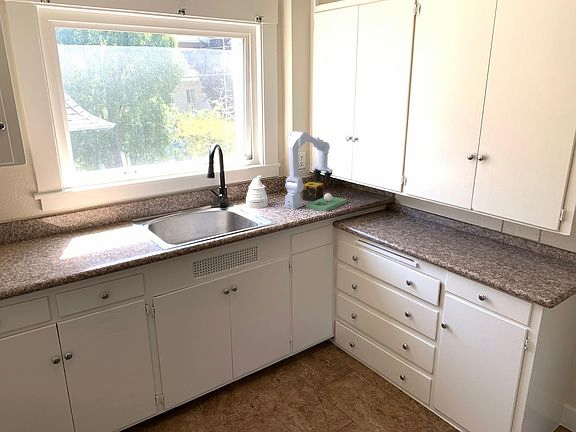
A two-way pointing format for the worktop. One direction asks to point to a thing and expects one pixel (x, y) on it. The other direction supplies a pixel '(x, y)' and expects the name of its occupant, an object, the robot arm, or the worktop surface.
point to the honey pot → (256, 195)
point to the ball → (327, 197)
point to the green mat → (326, 204)
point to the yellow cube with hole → (312, 191)
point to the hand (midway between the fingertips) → (322, 182)
